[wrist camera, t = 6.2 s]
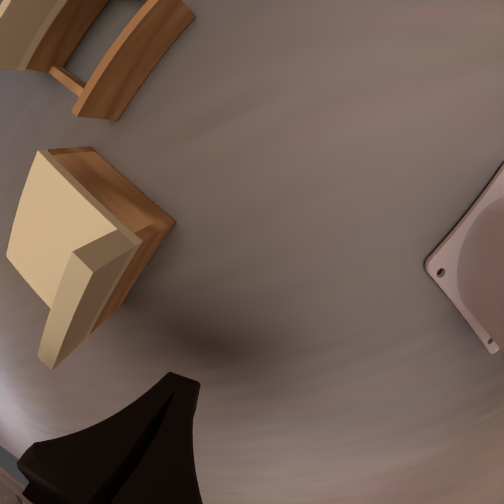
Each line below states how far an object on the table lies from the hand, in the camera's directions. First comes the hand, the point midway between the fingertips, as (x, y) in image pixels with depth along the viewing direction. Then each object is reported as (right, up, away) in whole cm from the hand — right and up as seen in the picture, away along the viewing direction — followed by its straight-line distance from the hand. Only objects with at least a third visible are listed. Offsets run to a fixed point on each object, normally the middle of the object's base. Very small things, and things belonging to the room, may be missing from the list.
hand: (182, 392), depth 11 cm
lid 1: (-9, +20, -3) cm, 22 cm away
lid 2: (-6, +6, +1) cm, 9 cm away
